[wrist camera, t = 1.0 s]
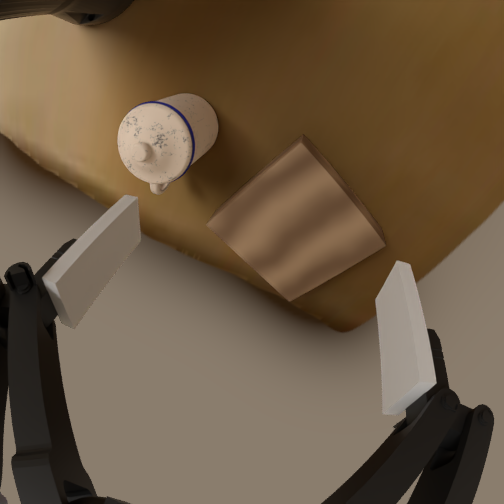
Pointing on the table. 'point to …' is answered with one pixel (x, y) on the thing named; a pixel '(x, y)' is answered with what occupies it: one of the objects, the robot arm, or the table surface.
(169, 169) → the teacup with lid
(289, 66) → the table surface
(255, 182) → the wooden square block
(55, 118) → the table surface
